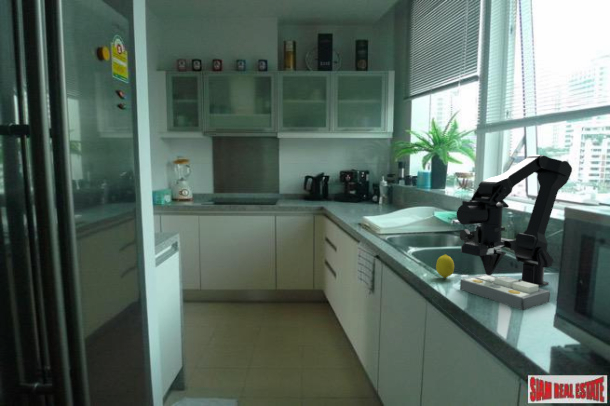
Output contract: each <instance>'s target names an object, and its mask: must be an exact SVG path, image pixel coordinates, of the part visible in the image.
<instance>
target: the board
mask: <svg viewBox="0 0 610 406" xmlns="http://www.w3.org/2000/svg"><path fill="white" fill-rule="evenodd" d="M482 276H490V277H494V278H498V277H499V276H496V275H492V274H491V275H486V273H485V274H480V275H475V276H470V277H466V278H460V280H459V285H460V286H459V289H460V290H462V291H464V292H468V293H471V294H473V295H477V296H479V297H483V298H486V299H488V298H489V299H488V300H491V299H492V300H491V301H495V302H497V303H501V304H503V305H507V306H510V307H513V308H515V309H519V310H522V311H525V310H527V309H528V310H529V309H532V308H535V307H537V306H541V305H544V304H548V303H550V297H551V291H550V290H548V289H543V288H540V287H538V291H537V292H534V293H530V294H528V293H525V292H521V291H518V290H515V289H513V287H511V288H508V287H504V286H501V285H497V284H494V282H492V283H490V282H487V281H483V280H480V279H477V277H482Z"/></svg>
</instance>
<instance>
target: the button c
mask: <svg viewBox="0 0 610 406" xmlns="http://www.w3.org/2000/svg"><path fill="white" fill-rule="evenodd" d="M538 286H539V285H536V284H532V283H528V282H524V281H520V282H516V283H513V289H515V290H518V291H521V292H525V293H528V294H530V293H534V292H537V291H538V288H539V287H540V286H539V287H538Z"/></svg>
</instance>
